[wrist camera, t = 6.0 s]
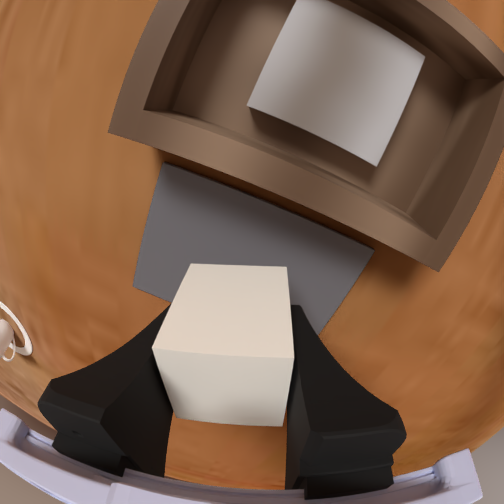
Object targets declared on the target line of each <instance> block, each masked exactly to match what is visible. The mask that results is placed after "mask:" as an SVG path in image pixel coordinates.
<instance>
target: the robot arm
mask: <svg viewBox="0 0 504 504" xmlns="http://www.w3.org/2000/svg"><path fill="white" fill-rule="evenodd" d="M171 304H172V303H171ZM171 304H170V305H169V306H168V307H167V308H166V309H165V310H164V311H163V312H162V313H161V314H160V315H159V316H158V317H157V318H156V319H154V320H153V321H152V322H151V323H150V324H149V325H148V326H147V327H146V328H145V329H143V330H142V331H141V332H140V333H139V334H137V335H136V336H135V337H134V338H133V339H131V340H130V341H129V342H127V343H126V344H125V345H123V346H122V347H120V348H119V349H117V350H116V351H114V352H113V353H111V354H109V355H108V356H106V357H104V358H102V359H100V360H99V361H97V362H95V363H93V364H91V365H89V366H87V367H85V368H82V369H80V370H78V371H75V372H73V373H70V374H67V375H64V376H61V377H58V378H55V379H51V381H50V383H49V384H48V386H47V387H46V389H45V391H44V392H43V394H42V396H41V398H40V399H39V401H38V408H39V410H40V412H41V413H42V414H43V416H44V417H45V418H46V419H47V420H48V421H49V423H50V424H51V425H52V426H53V427H54V428H55V429H56V430H57V431H58V433H57V435H56V437H55V439H54V441H53V440H51V439H49V438H47V437H45V436H43V435H41V434H39V433H37V432H35V431H33V430H32V429H30V428H29V427H28V426H27V425H26V423H25V422H23V421H22V420H21V419H20V418H19V417H18V416H16V415H14V414H13V413H11V412H9V411H8V410H6V409H4V408H2V409H1V411H0V462H1V463H2V464H3V465H5V466H6V467H7V468H9V469H10V470H11V471H13V472H14V473H15V474H17V475H18V476H20V477H21V478H23V479H24V480H26V481H27V482H29V483H31V484H32V485H34V486H35V487H37V488H39V489H41V490H42V491H44V492H45V493H47V494H49V495H51V496H53V497H54V498H56V499H58V500H60V501H62V502H64V503H66V504H472V503H474V502H476V501H478V500H479V499H481V498H482V497H483V494H482V490H481V487H480V483H479V479H478V476H477V472H476V469H475V466H474V463H473V460H472V457H471V454H470V451H469V449H468V448H466V449H463V450H461V451H458V452H456V453H453V454H450V455H447V456H445V457H443V458H441V459H440V460H438V461H437V462H436V463H435V464H434V465H433V466H431V467H428V468H425V469H421V470H418V471H414V472H411V473H407V474H403V475H399V476H395V477H393V474H392V469H391V466H392V465H393V463H394V461H393V456H392V454H393V453H394V452H395V451H396V450H397V449H398V448H399V447H400V446H401V445H402V444H403V442H404V441H405V439H406V435H407V434H406V430H405V427H404V424H403V421H402V419H401V417H400V415H399V413H398V410H396V409H394V408H393V407H391V406H389V405H388V404H386V403H385V402H383V401H381V400H380V399H378V398H377V397H375V396H374V395H373V394H371V393H370V392H369V391H367V390H366V389H365V388H364V387H362V386H361V385H360V384H359V383H358V382H357V381H356V380H354V379H353V378H352V377H351V376H350V375H349V374H348V373H347V372H346V371H345V370H344V369H343V368H342V367H341V365H340V364H339V363H338V362H337V361H336V360H335V359H334V357H333V356H332V355H331V354H330V352H329V351H328V350H327V348H326V347H325V346H324V344H323V343H322V341H321V340H320V338H319V337H318V335H317V334H316V332H315V331H314V329H313V327H312V326H311V324H310V322H309V321H308V319H307V317H306V315H305V313H304V311H303V308H302V307H301V306H300V305H290V309H291V321H292V334H293V347H294V363H293V369H292V375H291V381H290V387H289V393H288V399H287V453H286V477H285V490H257V489H239V488H227V487H217V486H209V485H201V484H195V483H188V482H183V481H177V480H172V479H167V478H164V473H165V462H166V453H167V445H168V438H169V432H170V426H171V420H172V415H173V408H172V405H171V402H170V400H169V397H168V394H167V392H166V389H165V386H164V383H163V380H162V377H161V375H160V372H159V369H158V366H157V362H156V359H155V356H154V353H153V350H152V346H153V344H154V342H155V339H156V337H157V335H158V333H159V330H160V328H161V326H162V324H163V322H164V319H165V317H166V315H167V313H168V311H169V308H170V306H171Z"/></svg>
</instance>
